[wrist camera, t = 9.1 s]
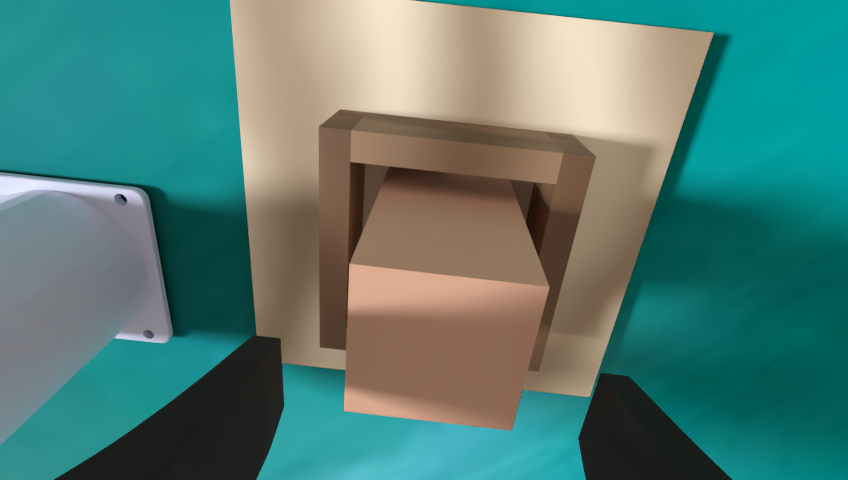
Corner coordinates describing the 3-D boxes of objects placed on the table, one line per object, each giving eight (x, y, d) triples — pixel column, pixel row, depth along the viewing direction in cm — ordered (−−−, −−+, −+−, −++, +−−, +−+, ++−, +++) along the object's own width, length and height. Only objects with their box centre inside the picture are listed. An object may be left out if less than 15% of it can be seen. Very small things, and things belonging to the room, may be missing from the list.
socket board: (266, 347, 23) (231, 408, 19) (241, -17, 16) (179, -28, 12) (583, 382, 23) (609, 450, 19) (698, 31, 16) (771, 35, 12)
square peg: (383, 265, 19) (343, 410, 12) (391, 163, 17) (349, 263, 10) (488, 277, 19) (511, 430, 12) (508, 176, 17) (549, 287, 10)
